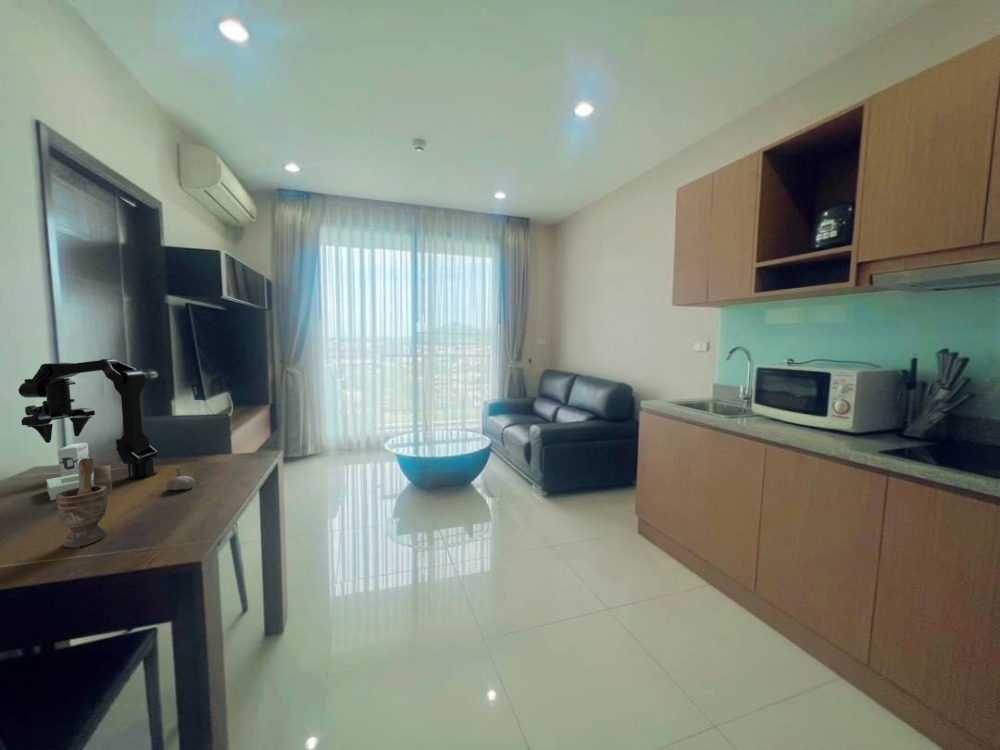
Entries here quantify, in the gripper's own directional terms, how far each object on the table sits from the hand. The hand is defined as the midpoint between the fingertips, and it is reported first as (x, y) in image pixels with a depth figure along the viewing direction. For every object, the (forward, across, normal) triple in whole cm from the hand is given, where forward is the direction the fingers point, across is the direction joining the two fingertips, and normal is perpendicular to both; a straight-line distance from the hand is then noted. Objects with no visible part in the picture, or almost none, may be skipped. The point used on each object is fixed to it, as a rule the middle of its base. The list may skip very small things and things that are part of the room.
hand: (62, 439), depth 139 cm
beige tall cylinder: (+15, +15, +29) cm, 35 cm away
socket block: (+14, +12, +17) cm, 25 cm away
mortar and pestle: (+15, +43, +53) cm, 70 cm away
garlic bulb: (+15, +10, +51) cm, 54 cm away
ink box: (+15, -1, +2) cm, 15 cm away
